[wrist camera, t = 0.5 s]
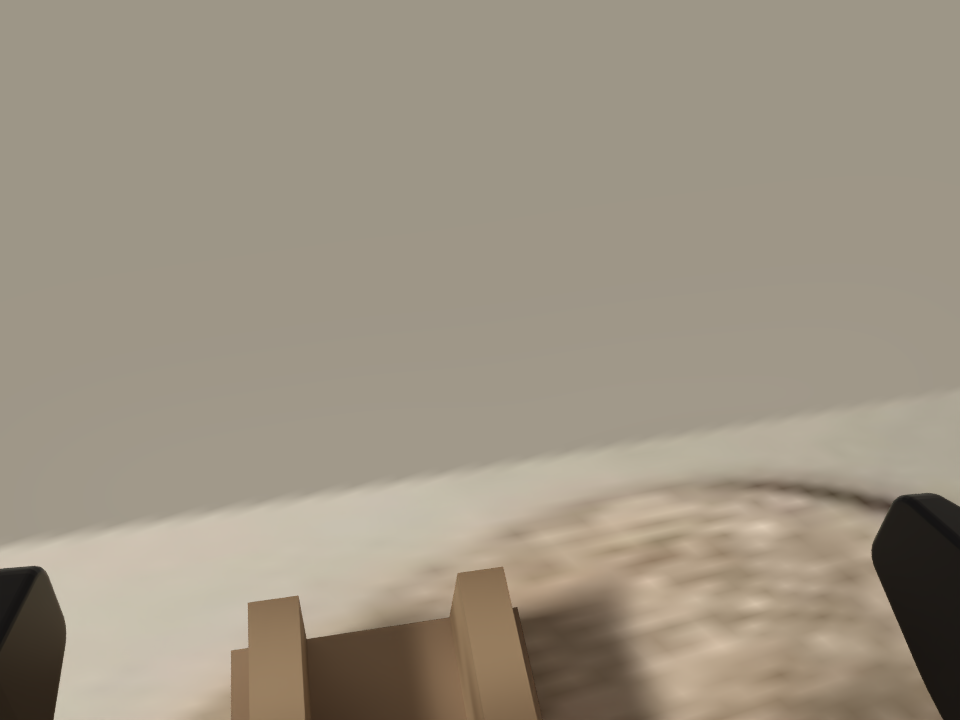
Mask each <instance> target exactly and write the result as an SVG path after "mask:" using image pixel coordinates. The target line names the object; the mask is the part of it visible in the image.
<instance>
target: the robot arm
mask: <svg viewBox="0 0 960 720" xmlns="http://www.w3.org/2000/svg"><path fill="white" fill-rule="evenodd" d="M871 551H872V560H873V564H874V567H875V570H876V572H877V574H878V577H879V579H880V581H881V584H882V586H883V588H884V591H885V593H886V595H887V598H888V600H889V602H890V605H891V607H892V610H893V612H894V614H895V617H896V619H897V621H898V624H899V626H900V628H901V631H902V633H903V635H904V638H905V640H906V642H907V645H908V647H909V649H910V652H911V654H912V656H913V659H914V661H915V663H916V666H917V668H918V670H919V672H920V675H921V677H922V679H923V681H924V683H925V685H926V688H927V690H928V692H929V694H930V696H931V698H932V700H933V701H934V703H935V705H936V707H937V709H938V711H939V713H940V715H941V717H942V719H943V720H960V507H959V506H958V505H956V504H954V503H952V502H951V501H949V500H947V499H945V498H944V497H942V496H940V495H937V494H932V493H922V494H910V495H902V496H899V497H898V498H897V499H895V500H894V502H893V503H892V505H891V507H890V509H889V511H888V513H887V515H886V517H885V519H884V521H883V523H882V525H881V527H880V529H879V531H878V533H877V535H876V537H875V539H874V541H873V544H872V550H871ZM65 644H66V625H65V620H64V616H63V614H62V611H61V608H60V606H59V603H58V600H57V598H56V595H55V592H54V590H53V587H52V584H51V582H50V579H49V576H48V575H47V573H46V571H45V570H44V569H43V568H41V567H38V566H27V567H15V568H4V569H0V720H53V719H54V713H55V707H56V701H57V694H58V688H59V682H60V676H61V669H62V663H63V657H64V651H65Z"/></svg>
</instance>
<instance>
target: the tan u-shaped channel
mask: <svg viewBox="0 0 960 720" xmlns="http://www.w3.org/2000/svg"><path fill="white" fill-rule="evenodd" d="M248 641H249V648H246V649H239V650H232V651H231V720H543V719H542V714H541V710H540V706H539V701H538V697H537V692H536V688H535V684H534V679H533V675H532V670H531V666H530V662H529V657H528V653H527V648H526V644H525V639H524V635H523V631H522V626H521V622H520V617H519V613H518V609H517V607H515V608H512V604H511V600H510V595H509V591H508V587H507V582H506V578H505V573H504V569H503V567H498V568H491V569H484V570H477V571H470V572H463V573H458V574H457V579H456V585H455V590H454V595H453V601H452V606H451V612H450V617H449V618H443V619H436V620H430V621H423V622H417V623H410V624H403V625H397V626H390V627H384V628H377V629H370V630H364V631H357V632H351V633H344V634H338V635H331V636H324V637H318V638H311V639H306V634H305V628H304V623H303V618H302V613H301V607H300V602H299V597H298V596H293V597H286V598H278V599H271V600H264V601H257V602H250V603H248Z"/></svg>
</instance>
